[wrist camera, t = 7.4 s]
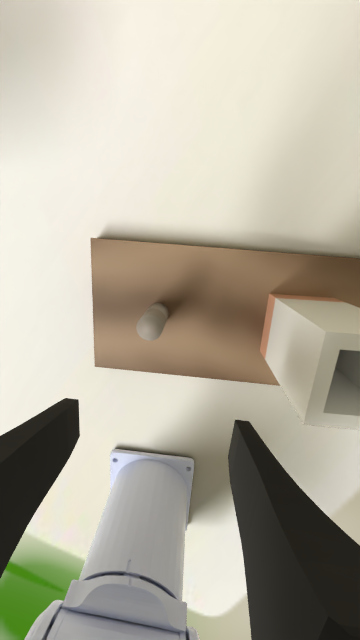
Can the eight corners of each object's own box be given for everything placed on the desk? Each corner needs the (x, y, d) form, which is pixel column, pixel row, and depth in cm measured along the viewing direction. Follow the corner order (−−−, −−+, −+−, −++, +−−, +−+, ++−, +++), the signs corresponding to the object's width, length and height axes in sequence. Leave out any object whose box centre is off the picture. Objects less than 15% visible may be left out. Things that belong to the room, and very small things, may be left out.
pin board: (338, 385, 20) (377, 423, 16) (99, 361, 21) (73, 391, 17) (377, 259, 17) (438, 264, 13) (96, 238, 18) (64, 235, 14)
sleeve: (333, 297, 17) (444, 340, 9) (319, 355, 18) (406, 434, 11) (269, 293, 17) (325, 331, 10) (259, 350, 18) (303, 424, 11)
